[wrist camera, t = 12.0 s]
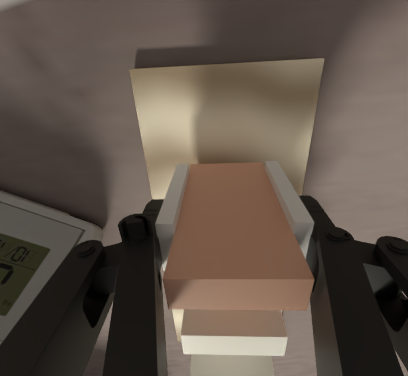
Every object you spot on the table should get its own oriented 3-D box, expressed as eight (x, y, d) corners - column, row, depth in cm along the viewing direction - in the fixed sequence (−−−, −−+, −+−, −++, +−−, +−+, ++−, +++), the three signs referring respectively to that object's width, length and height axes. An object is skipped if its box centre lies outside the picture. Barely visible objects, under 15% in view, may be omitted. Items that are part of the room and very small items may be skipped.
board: (275, 334, 29) (276, 342, 28) (178, 333, 30) (177, 341, 29) (318, 58, 15) (324, 58, 14) (133, 68, 16) (129, 69, 15)
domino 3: (252, 270, 23) (274, 401, 14) (200, 270, 23) (191, 399, 14) (252, 258, 22) (277, 388, 13) (199, 258, 22) (189, 386, 14)
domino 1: (260, 182, 17) (307, 310, 8) (192, 184, 18) (168, 309, 9) (262, 162, 16) (314, 279, 8) (190, 164, 17) (162, 279, 8)
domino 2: (254, 229, 20) (284, 355, 12) (197, 229, 21) (183, 354, 12) (255, 213, 20) (287, 337, 11) (195, 214, 20) (180, 335, 11)
